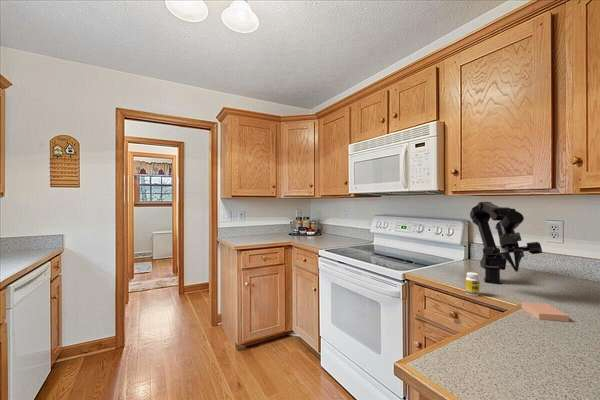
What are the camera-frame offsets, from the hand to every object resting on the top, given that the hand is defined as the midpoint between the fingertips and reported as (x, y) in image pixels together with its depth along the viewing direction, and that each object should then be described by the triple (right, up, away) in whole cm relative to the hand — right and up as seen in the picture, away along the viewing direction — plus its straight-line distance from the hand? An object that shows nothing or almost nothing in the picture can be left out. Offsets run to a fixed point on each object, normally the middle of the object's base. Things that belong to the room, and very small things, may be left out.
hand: (516, 271), depth 106 cm
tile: (-1, -10, -9) cm, 13 cm away
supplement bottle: (-13, -11, +6) cm, 18 cm away
